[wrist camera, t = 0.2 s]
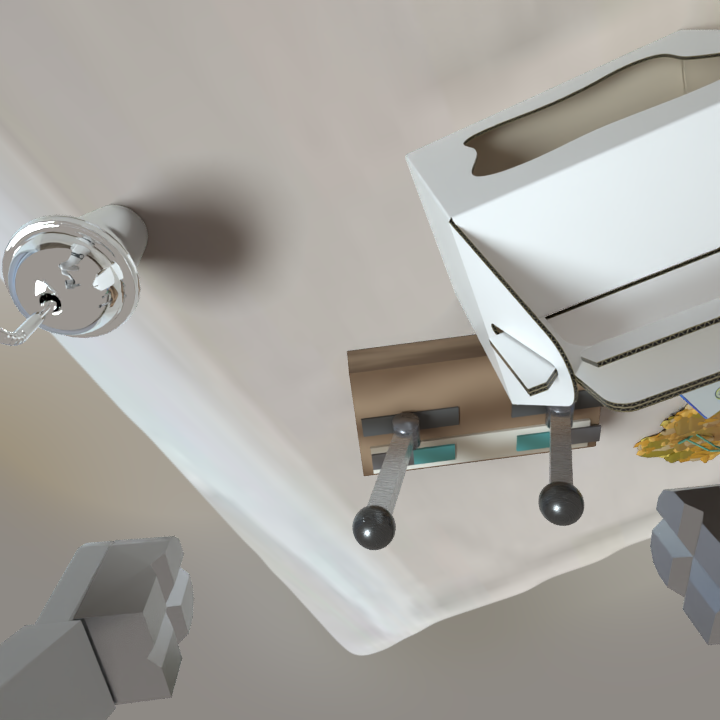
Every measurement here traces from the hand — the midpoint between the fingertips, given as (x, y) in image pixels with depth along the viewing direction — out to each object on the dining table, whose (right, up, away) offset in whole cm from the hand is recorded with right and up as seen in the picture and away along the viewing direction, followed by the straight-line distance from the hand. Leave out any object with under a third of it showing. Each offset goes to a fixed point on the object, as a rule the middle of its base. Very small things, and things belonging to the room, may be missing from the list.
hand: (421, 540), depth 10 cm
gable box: (+15, +18, +36) cm, 43 cm away
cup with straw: (-21, +14, +36) cm, 44 cm away
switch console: (+10, 0, +46) cm, 47 cm away
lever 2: (+18, -1, +43) cm, 46 cm away
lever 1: (+4, -3, +43) cm, 43 cm away
